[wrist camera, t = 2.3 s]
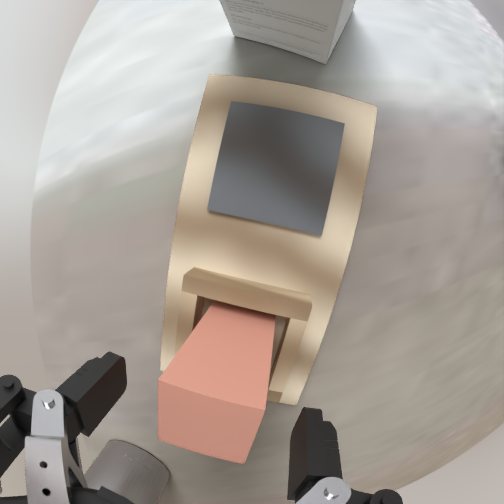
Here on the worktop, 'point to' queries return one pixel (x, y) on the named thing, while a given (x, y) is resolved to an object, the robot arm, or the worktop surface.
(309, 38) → the supplement box
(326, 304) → the board
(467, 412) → the worktop surface
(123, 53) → the worktop surface
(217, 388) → the block
